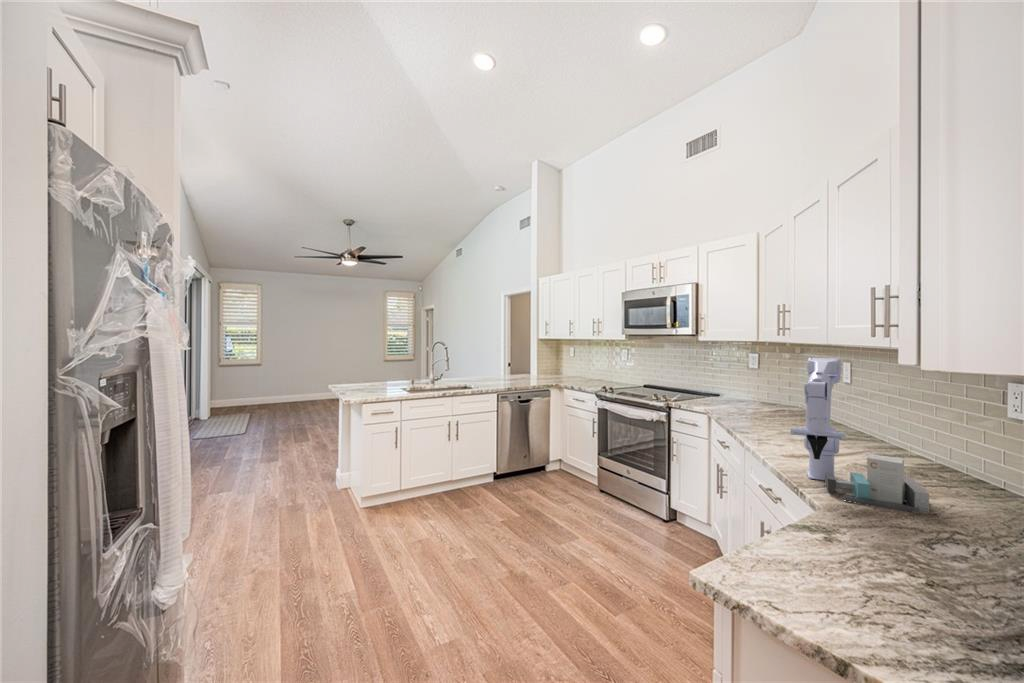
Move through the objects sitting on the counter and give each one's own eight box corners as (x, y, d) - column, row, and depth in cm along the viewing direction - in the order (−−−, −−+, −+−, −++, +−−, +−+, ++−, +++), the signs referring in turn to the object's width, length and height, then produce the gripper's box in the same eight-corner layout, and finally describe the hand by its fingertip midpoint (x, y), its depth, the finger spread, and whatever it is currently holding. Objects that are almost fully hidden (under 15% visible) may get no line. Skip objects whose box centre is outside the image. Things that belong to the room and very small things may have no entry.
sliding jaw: (824, 485, 139) (824, 469, 139) (862, 490, 134) (862, 473, 134) (829, 496, 129) (829, 479, 129) (870, 502, 124) (870, 484, 124)
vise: (835, 485, 139) (835, 468, 139) (911, 496, 129) (911, 477, 129) (844, 501, 126) (844, 481, 126) (929, 514, 116) (929, 493, 116)
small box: (904, 500, 126) (904, 458, 125) (902, 506, 121) (902, 463, 121) (870, 493, 132) (870, 453, 132) (866, 498, 128) (866, 457, 127)
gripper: (791, 417, 135) (791, 458, 135) (847, 422, 128) (847, 465, 128) (789, 414, 141) (789, 453, 141) (842, 418, 134) (842, 459, 134)
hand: (816, 458), depth 135 cm, fingers closed
